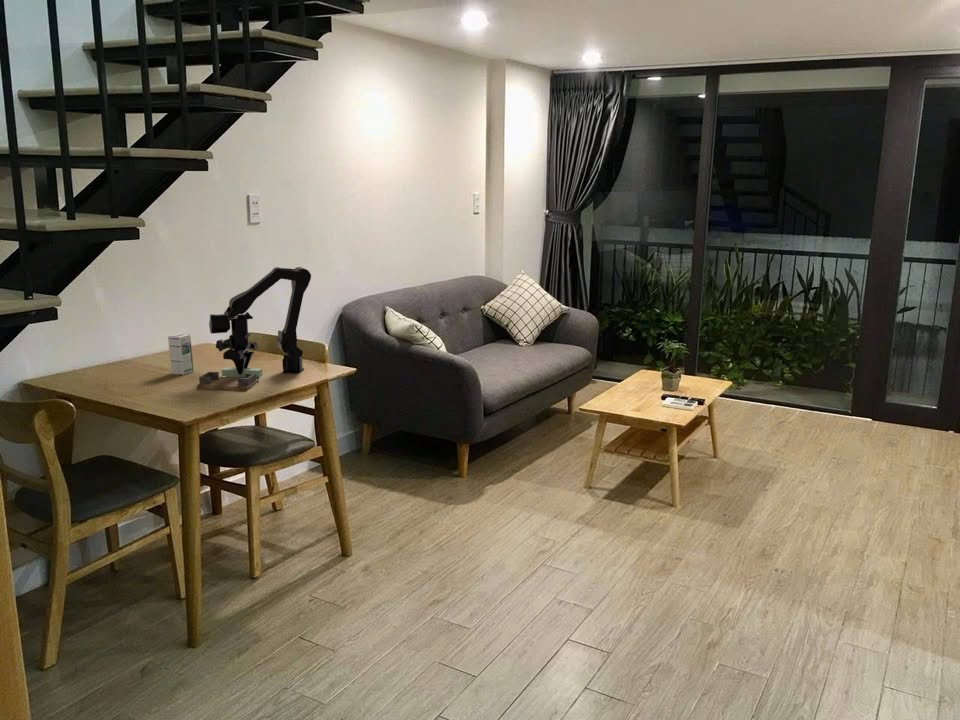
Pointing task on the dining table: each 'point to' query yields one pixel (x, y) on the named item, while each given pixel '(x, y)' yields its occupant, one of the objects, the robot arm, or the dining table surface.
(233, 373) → the slat
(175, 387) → the dining table surface
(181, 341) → the syrup box
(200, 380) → the frame
